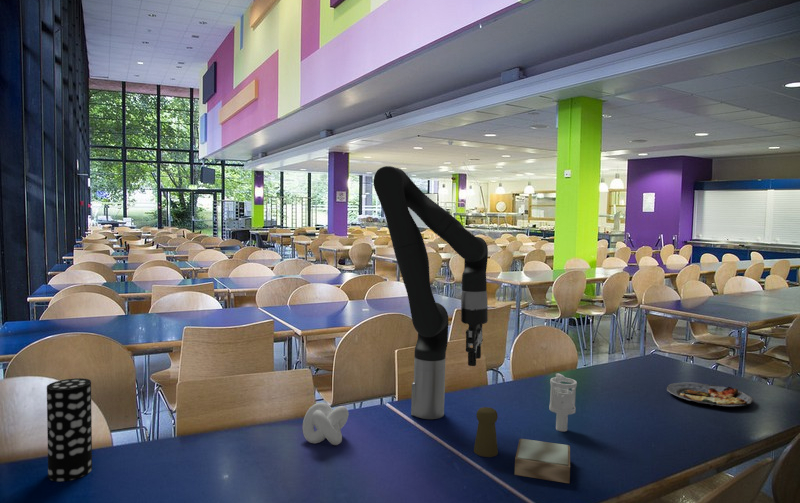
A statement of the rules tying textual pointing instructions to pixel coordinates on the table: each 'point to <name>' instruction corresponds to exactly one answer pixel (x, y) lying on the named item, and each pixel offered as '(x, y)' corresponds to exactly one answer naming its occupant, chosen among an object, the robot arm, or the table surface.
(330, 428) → the grey torus knot
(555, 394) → the grey mechanical part
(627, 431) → the table surface
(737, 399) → the food plate
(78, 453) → the white-spotted black cylinder
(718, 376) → the table surface
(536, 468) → the base block
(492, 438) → the cork
